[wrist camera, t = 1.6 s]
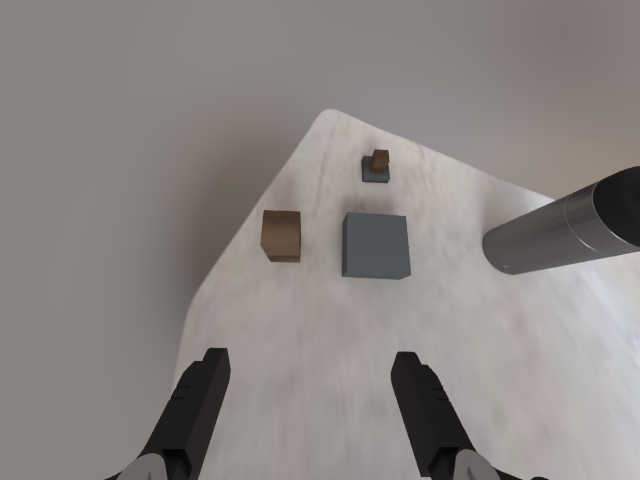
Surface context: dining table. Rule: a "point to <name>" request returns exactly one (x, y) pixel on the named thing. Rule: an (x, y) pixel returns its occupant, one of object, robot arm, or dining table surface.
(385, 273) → the slate base block
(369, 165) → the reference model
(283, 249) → the walnut block
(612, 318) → the dining table surface
